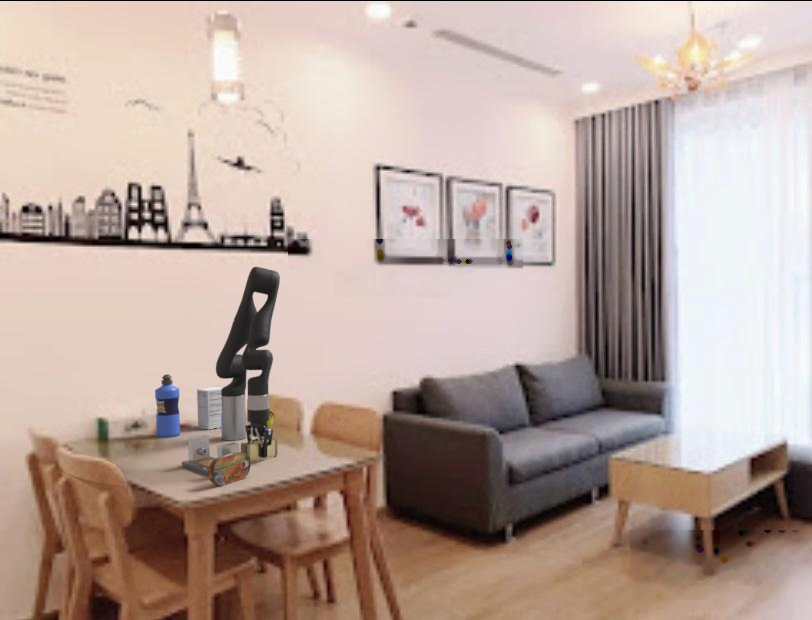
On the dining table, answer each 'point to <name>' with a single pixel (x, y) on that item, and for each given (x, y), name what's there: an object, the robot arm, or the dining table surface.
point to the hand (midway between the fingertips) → (259, 456)
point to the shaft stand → (205, 453)
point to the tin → (229, 468)
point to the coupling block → (259, 449)
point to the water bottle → (167, 409)
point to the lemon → (270, 422)
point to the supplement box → (209, 407)
